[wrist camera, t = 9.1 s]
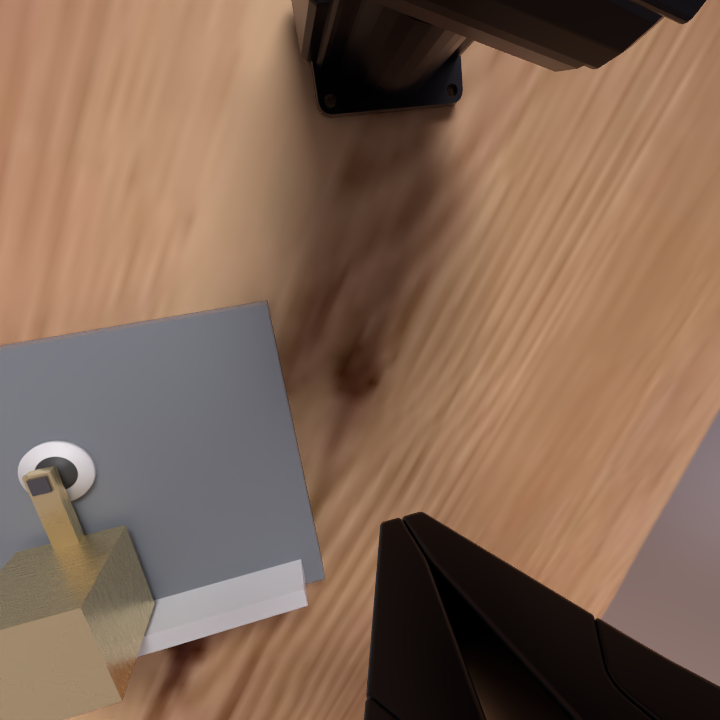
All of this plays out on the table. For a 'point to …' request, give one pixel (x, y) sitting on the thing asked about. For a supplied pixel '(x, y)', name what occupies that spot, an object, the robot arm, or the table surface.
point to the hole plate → (168, 461)
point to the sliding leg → (69, 613)
